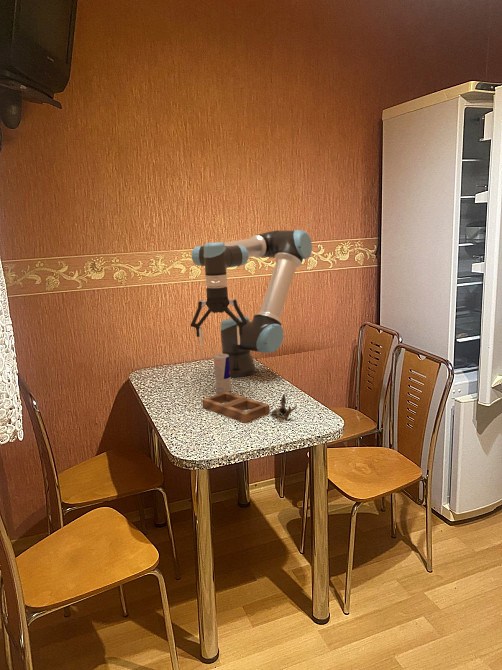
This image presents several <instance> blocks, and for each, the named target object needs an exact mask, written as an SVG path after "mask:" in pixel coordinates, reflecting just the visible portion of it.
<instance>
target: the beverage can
mask: <svg viewBox="0 0 502 670" xmlns="http://www.w3.org/2000/svg"><path fill="white" fill-rule="evenodd" d="M213 364H214V379H215V393H216V394H215V395H217V394H220V393H223V392H230V393H232V381H231V378H232V377H230V362H229V355H228V354H222V353H216V354H215V355H214V356H213Z"/></svg>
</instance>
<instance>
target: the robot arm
mask: <svg viewBox="0 0 502 670" xmlns="http://www.w3.org/2000/svg"><path fill="white" fill-rule="evenodd" d="M312 251H313V243H312V239H311V235H309V233H308V232H307V231H305V230H301V229H293V230H292V229H291V230H287V229H284V230H283V229H282V230H279V229H278V230H271V231H267V232H262V233H259V234H258V233H257V234H254V235H252V236H251V237H249V238H244V239H240V240H239V239H238V240H233V241H228V242H221V241H220V242H218V241H217V242H215V241H214V242H207V243H205V244H204V245H198V246H195V247H193V249H192V251H191V260H192V262H193V263H194V265H196V266H201V267H204V273H205V274H204V275H205V286H206V289H205V290H206V291H205V292H206V300H201V299H200V300H198V303H197V309H196V311H195V313H194V316H193V318H192V321H191V323H190V327H191V328H195V334H196V338H199V347H203V346H204V339H203V338H204V337H203V327H202V326H201V325H202V324H203V323H204V322H205V320H206V319H207V318H208V316H209V315H210V314H211V313H212V314H217V313H225V314H227V315H228V316H229V317H230V318H225V319H223V320H222V321H221V322H220V341H221V352H222V353H221V354H228V355H229V362H230V378H242V377H247V376H250V375H252V374H255V373H256V365H255V363H254V359H253V357H252V354H251V351H252V352H259V353H263V354H272V353H274V352H276V351H277V350H278V349H279V348H280V347H281V345H282V343H283V342H284V337H285V336H284V334H285V333H284V329H283V327H282V322H281V320H280V318H281V315H282V313H283V309H284V306H285V303H286V300H287V298H288V294H289V292H290V288H291V285H292V282H293V279H294V275H295V273H296V270H297V268H300V267H301V265H303V262H304V261H303V260H307V259H309V258H310V257H311V255H312ZM252 257H254V258H258V259H259V258H272V259H273V258H274V259H275V261H276V262H275V266H274V268H273V272H272V274H271V277H270V280H269V283H268V285H267V289H266V291H265V295H264V297H263V300H262V303H261V307H260V308H259V312H258V313H254V315H253V318H252V319H251V320H250V319H249V317H248V316H245V315H244V313H243V311H242V310H241V308H240V306H239V305H238V299H237V298H234V299H229V291H228V286H227V285H228V275H227V269H228V268H235V267H240V266H243V265H246V264H247V262H248V260H249V258H252ZM205 305H206V307H207V308H208V309H207V310H206V311H205V313H204V314H203V316H202V317H201V319H200V320H199V321H198V322H197V320H198V318H199V316H200V313H201V310H202V309H203V307H205ZM229 305H231V306H233V308H234V310H235V311H236V313H237V314H238V316H236V315H235V314H234V312H232V310H231V309H230V308H229Z"/></svg>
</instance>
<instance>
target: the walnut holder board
mask: <svg viewBox="0 0 502 670" xmlns="http://www.w3.org/2000/svg"><path fill="white" fill-rule="evenodd" d="M201 403H202V408H203V409H204V410H209V411H211V412H213V413H216V414H219V415H222V416H224V417H227V418H229V419H234V420H235V421H239V422H241V423H244V424H247V423H249V422H252V421H255V420H257V419H260V418H262V417H264V416H267V415H270V414H271V410H270V404H268V403H264V402H260V401H259V400H255V399H251V398H249V397H245V396H242V395H240V394H236V393H232V392H231V393H230V392H223V393H220V394H214V395H212V396H208V397H205V398H203V399H202V401H201ZM245 410H246V411H245Z"/></svg>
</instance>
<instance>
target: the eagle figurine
mask: <svg viewBox="0 0 502 670" xmlns="http://www.w3.org/2000/svg"><path fill="white" fill-rule="evenodd" d="M286 400H287V399H286V395H285V394H283V395H282V397H281V398H280V406H279V408H275V409H273V410H272V411H271V414H273V415H276V414H278V413H281V414H282V415H283V416H285V421H288V418H289V417H290V414H291V413H292V412H293V411H295V410H296V409H297V408H298V407H297V405H295V407H293V408H291V406H290V405H289V407H288V409H287V408H286V403H287V401H286Z"/></svg>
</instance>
